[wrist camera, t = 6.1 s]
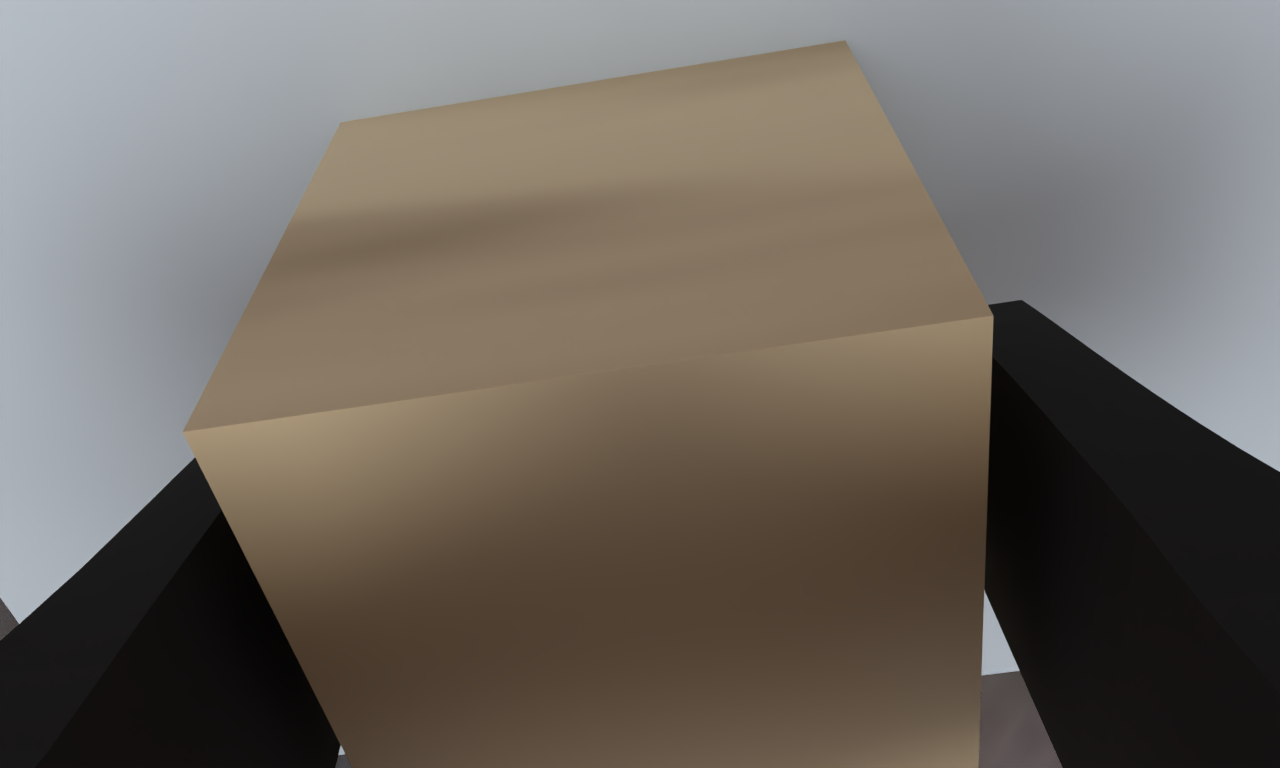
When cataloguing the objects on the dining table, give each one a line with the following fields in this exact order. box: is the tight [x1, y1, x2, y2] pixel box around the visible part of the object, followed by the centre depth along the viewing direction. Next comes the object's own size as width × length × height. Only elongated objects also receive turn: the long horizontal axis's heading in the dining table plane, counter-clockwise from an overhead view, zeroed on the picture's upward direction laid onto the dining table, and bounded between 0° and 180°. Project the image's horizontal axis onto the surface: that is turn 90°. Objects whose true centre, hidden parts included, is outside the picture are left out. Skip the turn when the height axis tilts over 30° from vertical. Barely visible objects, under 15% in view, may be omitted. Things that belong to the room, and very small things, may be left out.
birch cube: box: [183, 40, 993, 768], centre depth 10 cm, size 5×5×5 cm
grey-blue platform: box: [0, 0, 1280, 755], centre depth 14 cm, size 14×18×3 cm
